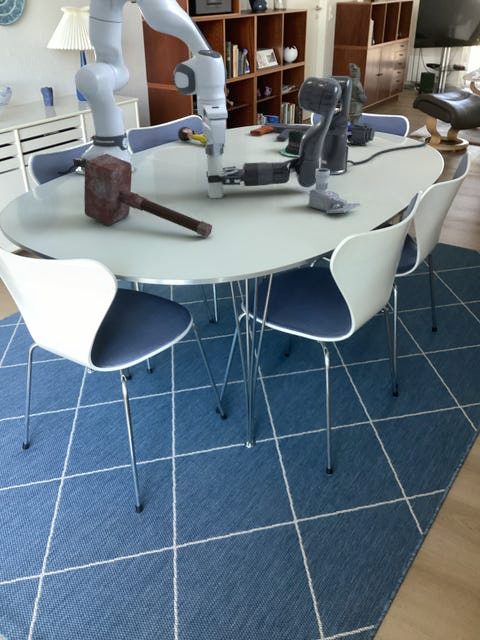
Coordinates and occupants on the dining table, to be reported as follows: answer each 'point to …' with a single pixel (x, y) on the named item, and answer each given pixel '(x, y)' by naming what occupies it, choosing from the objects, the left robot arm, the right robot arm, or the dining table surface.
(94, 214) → the sledgehammer
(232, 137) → the dining table surface
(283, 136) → the submachine gun
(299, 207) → the dining table surface
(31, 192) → the dining table surface
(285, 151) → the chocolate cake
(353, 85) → the statue
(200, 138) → the figurine
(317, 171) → the grey foot-shaped piece
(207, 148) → the lid
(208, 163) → the jar
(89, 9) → the left robot arm
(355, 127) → the toy
